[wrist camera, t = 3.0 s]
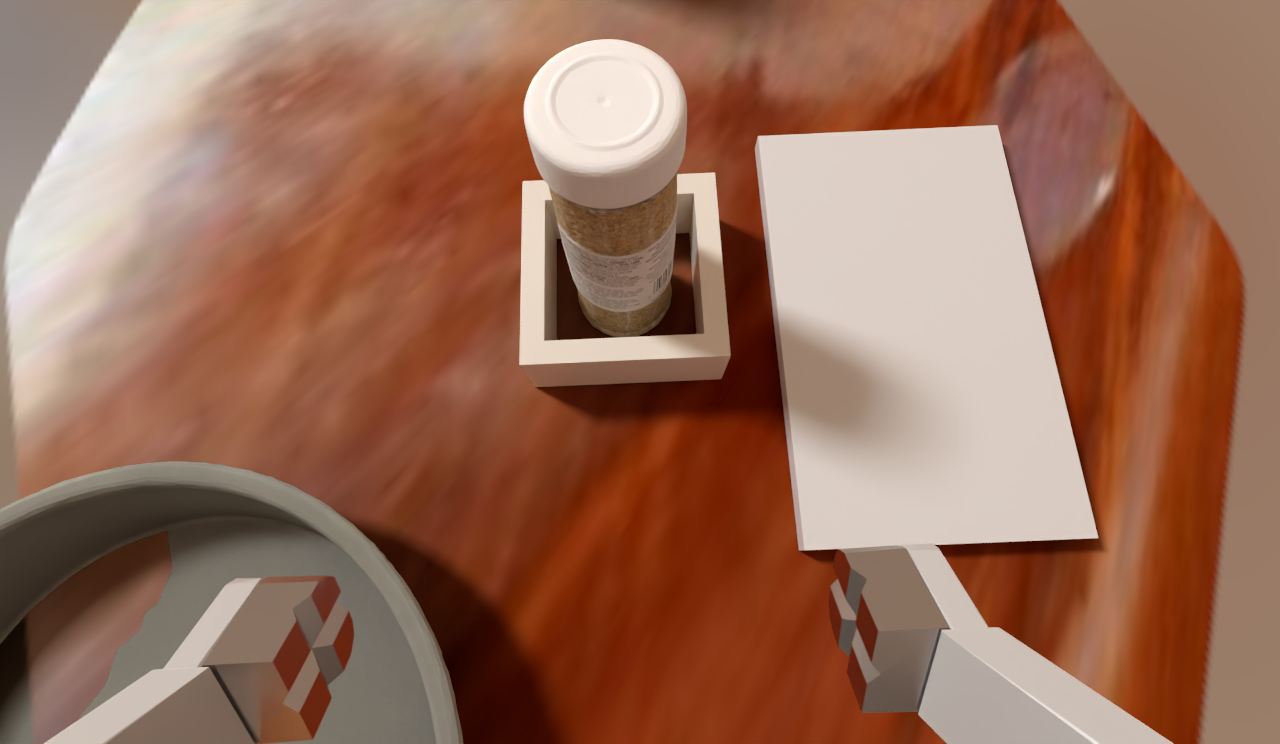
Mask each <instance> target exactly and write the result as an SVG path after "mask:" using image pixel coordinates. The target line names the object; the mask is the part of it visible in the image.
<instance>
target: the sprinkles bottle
mask: <svg viewBox="0 0 1280 744" xmlns="http://www.w3.org/2000/svg"><path fill="white" fill-rule="evenodd" d="M524 122H525V127H526V132H527V136H528V140H529V143H530V147H531V150H532V153H533V157H534V160H535V163H536V166H537V168H538V170H539V172H540V174H541V176H542V177H543V179H544V180H545V182H546V183H547V184H548V186H549V190H550V194H551V198H552V200H553V204H554V208H555V214H556V217H557V223H558V228H559V231H560V235H561V239H562V244H563V247H564V251H565V254H566V258H567V261H568V264H569V268H570V271H571V275H572V278H573V280H574V283H575V285H576V287H577V289H578V300H579V305H580V307H581V310H582V312H583V314H584V316H585V317H586V319H587V320H588V321H589V323H590V324H591V325H592V326H593V327H594V328H596V329H598V330H599V331H601V332H603V333H605V334H607V335H610V336H613V337H636V336H639V335H641V334H644V333H647V332H648V331H649V330H651V329H653V328H654V327H656V326H657V325H658V324H659V323H660V322H661V320H662V319H663V318H664V316H665V315H666V312H667V310H668V309H669V307H670V303H671V296H672V288H671V283H670V279H671V275H672V270H673V259H674V247H675V236H676V220H677V206H678V198H677V172H678V169H679V166H680V164H681V162H682V159H683V156H684V151H685V143H686V127H687V103H686V96H685V92H684V89H683V86H682V84H681V82H680V79H679V77H678V76H677V74H676V73H675V71H674V70H673V68H672V67H671V66H670V65H669V64H668V63H667V62H666V61H665V60H664V59H663V58H661V57H660V56H659V55H657V54H656V53H654V52H653V51H651V50H649V49H647V48H645V47H643V46H640V45H638V44H634V43H631V42H627V41H622V40H614V39H602V40H593V41H588V42H584V43H580V44H577V45H574V46H572V47H570V48H567V49H565V50H563V51H562V52H560V53H558V54H557V55H555V56H554V57H552V58H551V59H550V60H549V61H548V62H547V63H546V64H545V65H544V66H543V67H542V68H541V69H540V70H539V71H538V73H537V74H536V75H535V77H534V78H533V80H532V82H531V84H530V86H529V88H528V91H527V94H526V98H525V103H524Z"/></svg>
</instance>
